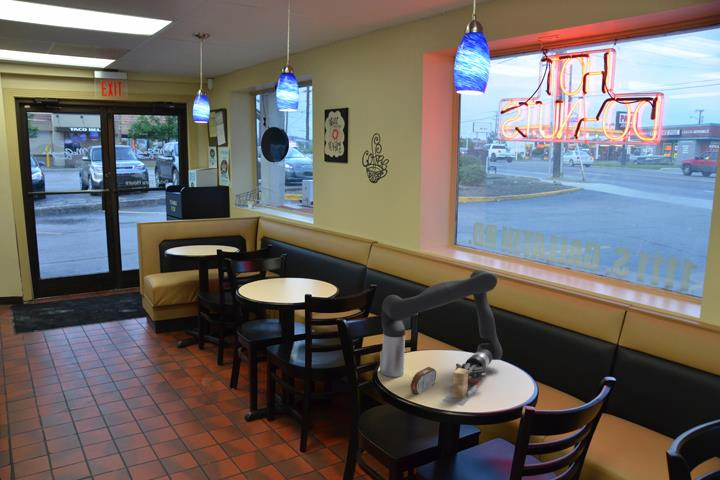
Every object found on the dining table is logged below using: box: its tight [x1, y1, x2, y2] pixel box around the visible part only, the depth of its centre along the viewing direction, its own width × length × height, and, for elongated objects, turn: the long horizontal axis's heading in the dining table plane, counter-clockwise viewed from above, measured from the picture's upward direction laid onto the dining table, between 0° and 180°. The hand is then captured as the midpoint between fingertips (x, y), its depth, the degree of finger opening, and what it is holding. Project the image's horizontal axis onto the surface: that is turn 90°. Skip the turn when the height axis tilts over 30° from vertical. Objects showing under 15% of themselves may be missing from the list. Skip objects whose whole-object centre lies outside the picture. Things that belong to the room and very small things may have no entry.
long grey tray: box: [442, 377, 482, 407], centre depth 213 cm, size 8×23×2 cm, turn 149°
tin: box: [410, 366, 437, 395], centre depth 214 cm, size 15×3×8 cm, turn 141°
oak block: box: [452, 368, 469, 399], centre depth 209 cm, size 4×5×10 cm
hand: (462, 377), depth 211 cm, fingers closed
